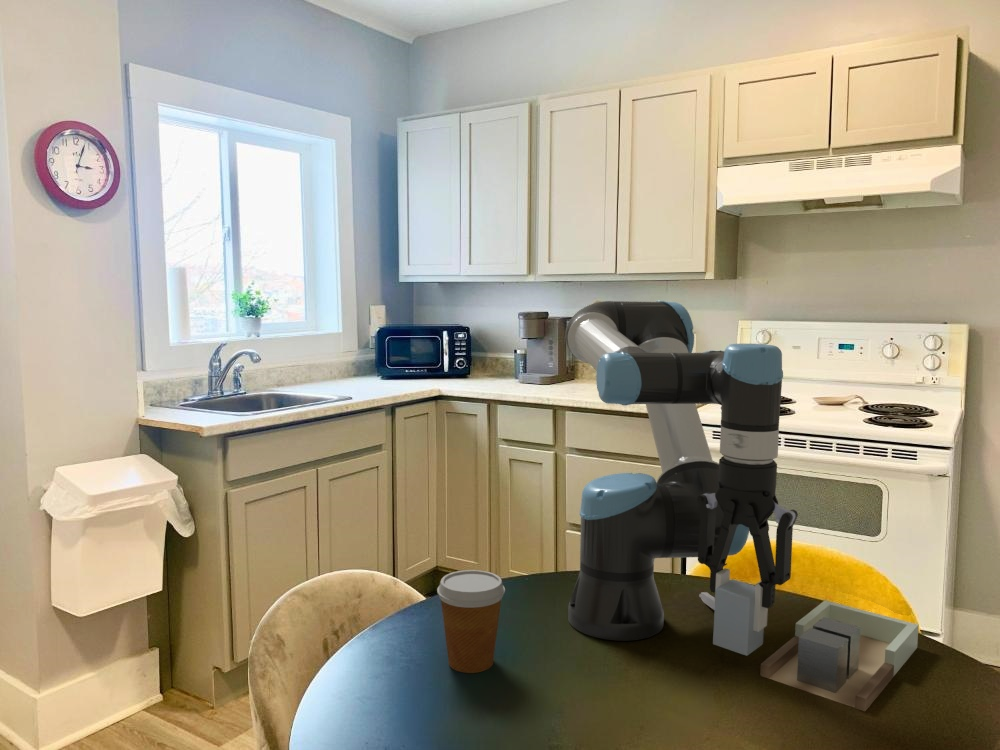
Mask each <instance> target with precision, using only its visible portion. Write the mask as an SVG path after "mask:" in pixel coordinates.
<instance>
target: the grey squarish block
mask: <svg viewBox="0 0 1000 750" xmlns="http://www.w3.org/2000/svg"><path fill="white" fill-rule="evenodd" d="M847 655H848V639H847V638H844V637H840V636H837V635H833V634H830V633H826V632H823V631H819V630H816V629H812V628H809V629H808V630H807V631H806V632H805V633H803V634H802V635H801V636H800V637H799V647H798V669H797V681H800V682H803V683H806V684H809V685H812V686H815V687H818V688H821V689H824V690H827V691H830V692H833V693H836V692H837V691H838V690H839V689H840V688H841V687H842V686H843V685H844V684H845V683H846V675H847Z"/></svg>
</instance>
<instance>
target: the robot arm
mask: <svg viewBox="0 0 1000 750" xmlns="http://www.w3.org/2000/svg"><path fill="white" fill-rule="evenodd" d="M693 330H694V325H693V320H692V318H691V315H690V313H689V312H688V310H687V308H686V307H684V306H683V305H682V304H680V303H678V302H673V301H665V300H656V301H625V300H624V301H617V300H616V301H615V300H614V301H613V300H604V301H598V302H594V303H591V304H588V305H587V306H584V307H583V308H581V309H579V310H578V311H576V313H574V315H573V316H572V317H570V320H569V321H568V322H567V325H566V329H565V333H564V334H565V335H564V337H565V343H566V346H567V349H568V350H569V351H570V353H571V354H572V355H573V356H574V357H575V358H576V359H577V360H579V361H581V362H582V363H586V364H589V365H590V367H592V368H593V369H594V370H595V371H596V389H597V392H598V397H599V399H600V400H601V401H602V402H603V403H605V404H612V405H621V406H631V405H645V407H646V411H647V415H648V419H649V423H650V426H651V427H650V428H651V431H652V434H653V435H652V436H653V439H654V444H655V447H656V451H657V456H658V459H659V464H660V468H661V473H660V475H659V476H658V477H657V480H656V479H655V477H654V476H652V475H650V474H647V473H641V472H638V473H632V472H621V473H620V472H619V473H614V474H608V475H607V474H606V475H603V476H600V477H597V478H594V479H593V480H591V481H589V482H588V483H587V484H586V485H585V486H584V487H583V489H582V493H581V502H580V509H579V516H580V539H579V541H580V546H579V547H580V548H579V549H580V551H579V555H580V557H579V561H580V563H579V564H580V565H579V573H578V577H577V580H576V583H575V585H574V588H573V591H572V593H571V596H570V600H569V603H568V609H567V611H568V612H567V613H568V617H567V618H568V622H569V624H570V625H571V627H573V628H574V629H575V630H577V631H578V632H580V633H582V634H585V635H586V636H590V637H594V638H598V639H602V640H609V641H618V642H621V641H622V642H625V641H626V642H628V641H638V640H643V639H648V638H651V637H653V636H655V635H658V634H659V633H660V632H661V631H662V629H663V627H664V619H665V617H664V615H665V613H664V607H663V605H662V603H661V602H662V601H661V598H660V594H659V591H658V588H657V584H656V581H655V578H654V570H655V569H654V566H655V565H654V563H655V560H656V559H663V558H664V559H668V558H669V559H670V558H673V559H675V558H676V559H678V558H681V559H683V558H697V561H698V563H699V564H701V565H705V566H706V567H708V568H709V571H710V573H709V575H710V577H709V591H710V593H711V592H712V593H714V594H715V591H716V588H717V587H719V586H721V585H723V584H725V583H727V582H728V581H730V575H731V574H730V573H731V571H730V570H731V569H729V568H724V567H725V566H727V565H728V563H726V562H727V559H728V556H734V555H737V554H739V553H740V552H741V551H742V550H744V549H743V548H744V547H745V545H746V543H747V540H748V538H749V534H750V536H751V537H752V541H753V546H754V551H755V556H756V557H755V558H756V563H757V567H758V571H759V577H760V581H758V582H757V583H756V584H755V585H754V586H755V604H754V625H753V630H754V631H757V632H759V631H760V630H762V629H763V628H764V629H765V628H766V627H767V626H768V611H769V609H771V608H772V607H773V606H774V604H775V601H776V599H775V598H776V585H778V586H782V585H784V584H785V583H786V582H788V581H789V580H791V577H792V558H793V557H792V554H793V551H792V550H793V531H794V525H795V523H796V520H797V519H798V512H797V510H795V509H790V510H789V509H787V508H786V507H783V506H782V505H780V504H779V501H778V499H777V496H776V488H777V475H778V464H777V462H776V461H775V459H776V458H778V456H779V433H780V432H779V431H780V429H779V427H780V416H781V415H780V414H781V402H782V401H781V399H782V386H783V379H784V370H783V353H782V349H781V348H779V347H778V346H776V345H774V344H763V343H730V344H729V345H727V346H726V347H725V349H724V350H707V351H703V352H693V350H694V345H695V333H694V332H693ZM697 404H698V405H707V404H708V405H720V406H721V412H720V414H721V417H720V436H719V437H720V438H719V439H720V441H719V453H720V455H722V456H721V457H720V458H719V460H718V462H716V461H714V460H713V457H712V454H711V450H710V447H709V445H708V441H707V438H706V437H707V436H706V434H705V431H704V427H703V425H702V421H701V418H700V414H699V411H698V408H697ZM773 514H774V515H775V522H776V524H777V527H776V535H775V558H774V554H773V548H772V544H771V540H770V539H771V538H770V534H769V531H770V526H769V521H768V519H769V518H770V517H771V516H772V515H773ZM713 611H715V610H713Z"/></svg>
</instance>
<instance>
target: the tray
mask: <svg viewBox="0 0 1000 750" xmlns="http://www.w3.org/2000/svg"><path fill="white" fill-rule="evenodd" d="M823 617H825V618H829V619H833V620H836V621H840V622H844V623H847V624H851V625H855V626H858V627H860V635H862V636H866V637H869V638H873V639H877V640H880V641H884V642H887V643H890V644H889V645H888V647H887V648H886V649H885V663H888V664H892V665H894V675H895V676H896V675H897V673H898V672H899V671H900V670H901V668H902V667H903V666H904V665H905V663H907V661H908V660H909V659H910V657H911V656H912V655H913V654H914V652H916V650H917V649H918V641H919V624H917V623H913V622H909V621H906V620H902V619H899V618H895V617H891V616H887V615H883V614H880V613H876V612H872V611H869V610H868V611H867V610H863V609H860V608H856V607H852V606H847V605H844V604H841V603H837V602H833V601H829V600H825V599H824V600H823V601H822V602H821V603H820V604H818V605H817V606H816V607H814V608H813V609H812V610H811V611H810V612H808V613H807V614H806V615H804V616H803V617H802V618H800V619H799V620H798V621H796V622H795V625H794V626H795V628H794V632H795V633H794V636H797V637H800V636H801V635H802V634H803V633H805V632H806V631H807V630H808V629H809V628H812V629H813V625H814V624H815V623H817V622H818V621H819V620H820V619H821V618H823ZM916 648H917V649H916ZM912 653H913V654H912ZM908 658H909V659H908ZM907 659H908V660H907ZM903 664H904V665H903ZM899 669H900V670H899ZM898 670H899V671H898ZM895 676H893V678H894V677H895Z"/></svg>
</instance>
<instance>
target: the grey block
mask: <svg viewBox="0 0 1000 750" xmlns="http://www.w3.org/2000/svg"><path fill="white" fill-rule="evenodd" d="M714 598H715V611H714V610H713V611H714V616H713V632H712V633H713V636H712V644H713V645H714V646H717V647H720V648H723V649H726V650H728V651H732V652H735V653H738V654H740V655H743V656H747V657H748V656H749V655H750V654H751V653H753V652H754V651H756V650H758V648H760V647H761V646H762V645H763V644H764V633H765V632H764V631H765V630H764V629H765V627H764V628H763V629H762V630H760V631H759V632H757V631H754V630H753V625H754V604H755V585H754V584H750V583H747V582H744V581H740V580H736V579H733V578H732V579H729V581H728V582H727V583H725V584H723V585H721V586H719V587H717V588H716V591H715V593H714Z"/></svg>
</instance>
